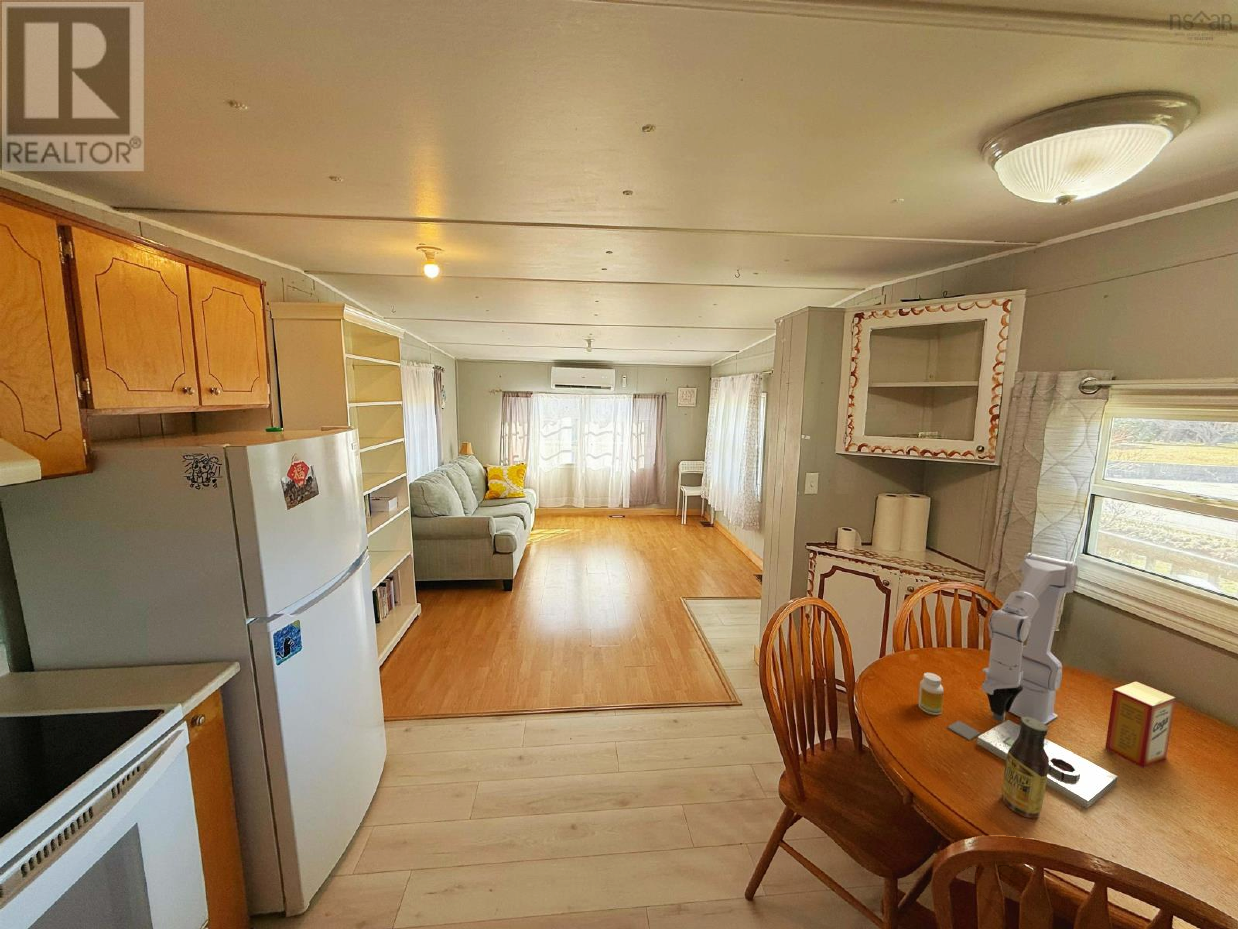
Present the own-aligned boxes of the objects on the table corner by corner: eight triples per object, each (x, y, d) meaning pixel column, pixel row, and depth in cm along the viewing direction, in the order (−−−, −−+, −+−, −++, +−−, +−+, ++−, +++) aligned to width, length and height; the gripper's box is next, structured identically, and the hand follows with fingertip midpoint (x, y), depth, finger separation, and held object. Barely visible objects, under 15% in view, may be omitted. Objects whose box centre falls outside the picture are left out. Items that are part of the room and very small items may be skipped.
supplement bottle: (945, 716, 120) (948, 683, 119) (923, 714, 121) (926, 681, 120) (935, 703, 126) (938, 672, 124) (914, 701, 127) (917, 670, 125)
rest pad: (958, 722, 118) (958, 720, 118) (980, 734, 114) (980, 733, 114) (947, 727, 116) (947, 726, 116) (969, 740, 112) (969, 739, 112)
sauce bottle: (993, 795, 96) (1002, 711, 93) (1019, 793, 96) (1029, 709, 94) (1022, 823, 89) (1033, 734, 87) (1051, 821, 90) (1062, 731, 87)
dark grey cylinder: (995, 715, 111) (997, 684, 110) (1006, 720, 109) (1008, 689, 108) (990, 717, 110) (992, 687, 109) (1001, 723, 108) (1003, 692, 107)
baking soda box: (1127, 738, 112) (1136, 679, 110) (1166, 757, 106) (1176, 696, 103) (1105, 748, 109) (1113, 687, 107) (1143, 768, 103) (1152, 704, 101)
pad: (1009, 745, 110) (1009, 738, 109) (1021, 751, 107) (1021, 745, 107) (1003, 748, 109) (1004, 741, 108) (1015, 755, 106) (1016, 748, 106)
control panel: (1007, 726, 116) (1008, 714, 116) (1116, 784, 98) (1118, 770, 98) (977, 744, 110) (978, 731, 110) (1087, 809, 92) (1089, 794, 92)
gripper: (1001, 645, 114) (996, 694, 116) (969, 659, 108) (964, 710, 110) (1036, 659, 108) (1030, 710, 109) (1004, 674, 102) (998, 729, 103)
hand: (999, 711), depth 109 cm, fingers closed on dark grey cylinder, 2 cm apart
